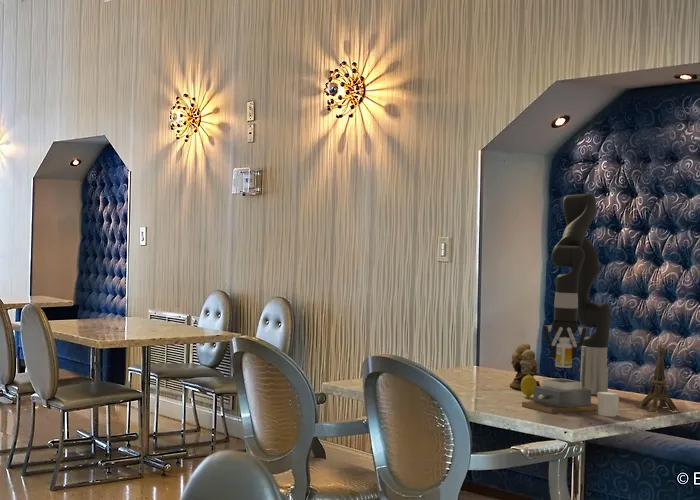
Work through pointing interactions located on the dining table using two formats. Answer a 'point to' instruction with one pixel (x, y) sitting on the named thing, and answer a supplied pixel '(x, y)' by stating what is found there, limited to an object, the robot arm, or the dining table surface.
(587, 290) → the robot arm
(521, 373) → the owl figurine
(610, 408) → the white cup
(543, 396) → the grey and brown box
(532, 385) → the lemon
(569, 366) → the supplement bottle
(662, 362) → the eiffel tower
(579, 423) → the dining table surface
